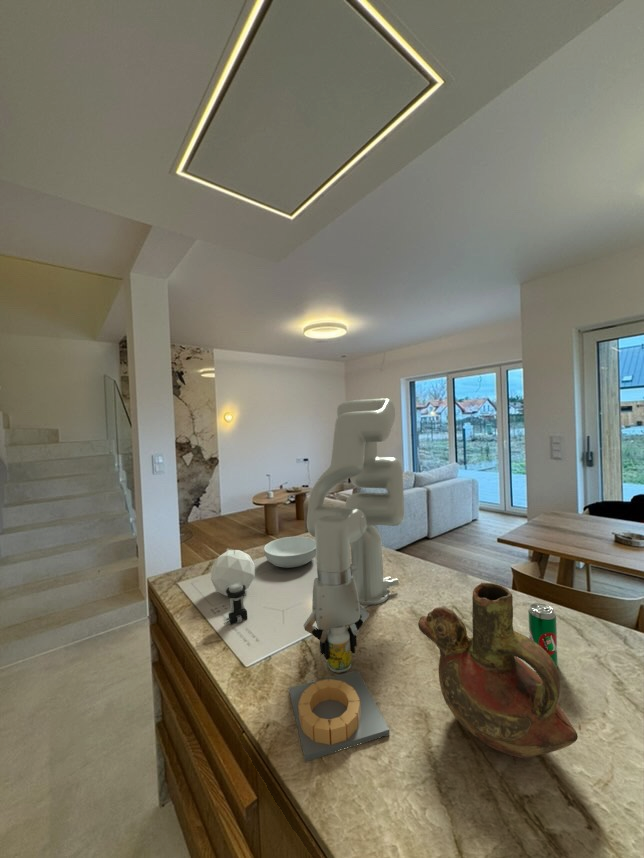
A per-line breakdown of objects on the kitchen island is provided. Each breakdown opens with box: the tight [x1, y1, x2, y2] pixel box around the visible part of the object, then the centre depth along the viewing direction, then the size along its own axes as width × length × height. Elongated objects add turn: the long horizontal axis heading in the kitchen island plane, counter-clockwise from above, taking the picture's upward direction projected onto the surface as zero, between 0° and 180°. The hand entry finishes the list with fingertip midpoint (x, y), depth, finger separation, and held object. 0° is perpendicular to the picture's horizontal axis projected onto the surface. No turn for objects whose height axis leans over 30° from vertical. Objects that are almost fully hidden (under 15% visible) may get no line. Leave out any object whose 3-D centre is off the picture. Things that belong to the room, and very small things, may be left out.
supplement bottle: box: [326, 625, 352, 674], centre depth 78 cm, size 5×5×10 cm
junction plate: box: [288, 669, 391, 762], centre depth 66 cm, size 15×15×1 cm
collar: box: [298, 679, 361, 745], centre depth 64 cm, size 11×11×2 cm
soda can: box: [528, 602, 559, 667], centre depth 75 cm, size 5×5×12 cm
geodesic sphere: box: [210, 547, 256, 597], centre depth 114 cm, size 15×14×14 cm
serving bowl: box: [263, 536, 316, 569], centre depth 135 cm, size 21×21×7 cm
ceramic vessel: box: [417, 582, 578, 759], centre depth 61 cm, size 17×26×25 cm, turn 45°
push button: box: [223, 582, 248, 625], centre depth 97 cm, size 7×5×10 cm
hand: (338, 651), depth 78 cm, fingers closed on supplement bottle, 5 cm apart
